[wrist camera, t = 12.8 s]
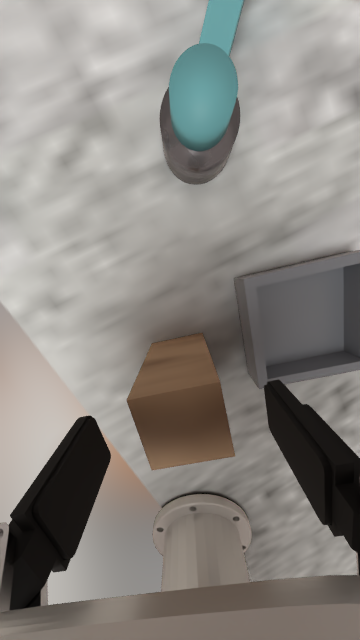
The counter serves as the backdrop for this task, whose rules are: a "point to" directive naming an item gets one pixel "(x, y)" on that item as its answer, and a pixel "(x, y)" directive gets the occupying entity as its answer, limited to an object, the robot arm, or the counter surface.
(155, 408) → the block
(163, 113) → the base
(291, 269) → the tray
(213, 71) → the crank
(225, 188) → the counter surface
